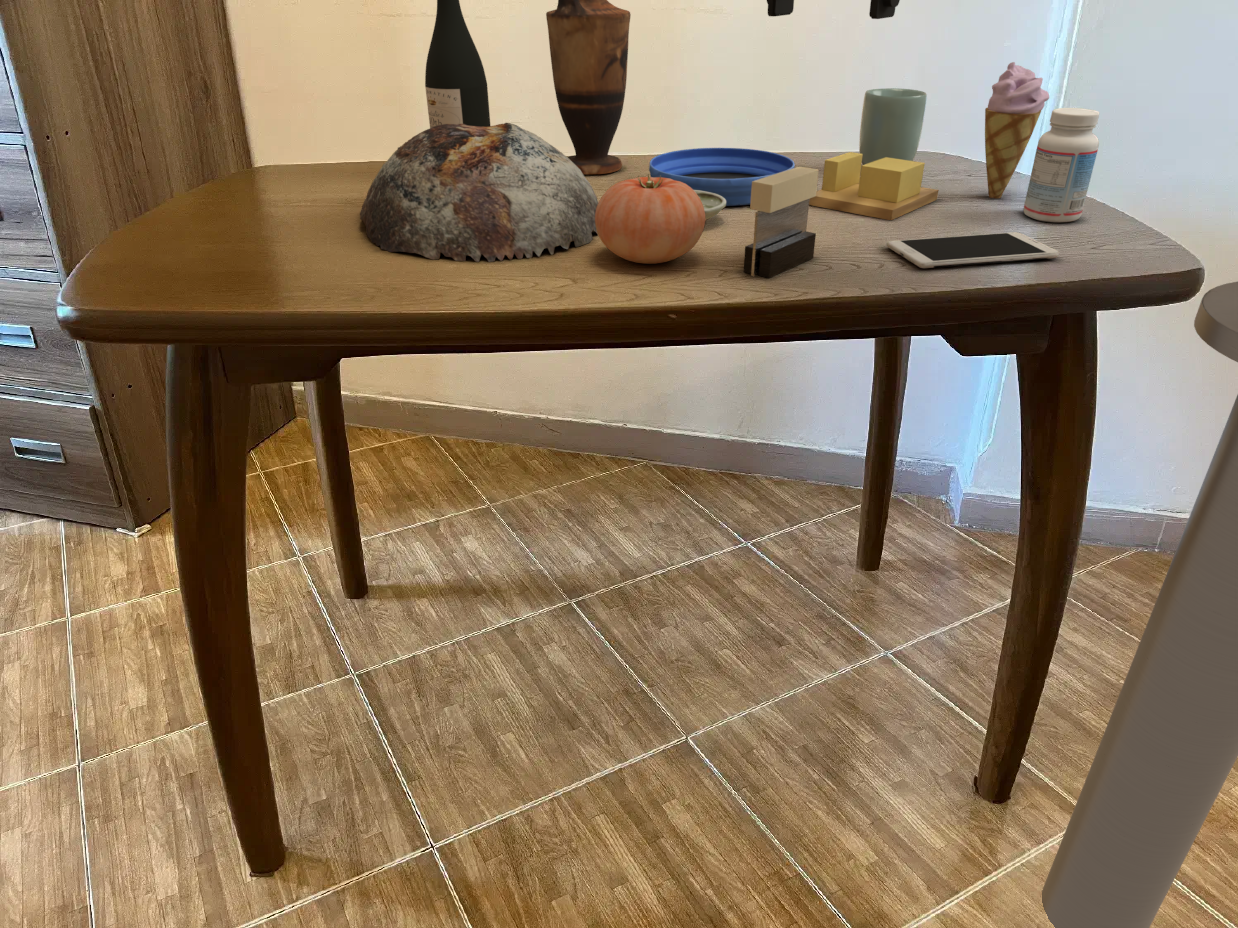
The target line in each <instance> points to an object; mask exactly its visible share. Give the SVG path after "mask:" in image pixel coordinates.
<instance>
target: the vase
mask: <svg viewBox="0 0 1238 928" xmlns="http://www.w3.org/2000/svg"><path fill="white" fill-rule="evenodd" d="M545 19H546V24H547V34H548V43H549V53H550V55H549V56H550V62H551V63H550V64H551V72H552V80H553V87H554V91H555V97H556V98H555V99H556V102H557V106H558V110H559V114H560V116H561V120H562V121H563V124H564V127H565V129H566V131H567V133H568V137H569V139H570V140H571V143H572V145H573V149H574V152H575V155H570V156H567V157H568V158H569V159H570V160H571V161H572V162H573V163H574V164H575V165H576V166H577V167H578V168H579V169H580V170H581V172H582V173H583V175H584V176H585V175H586V176H587V175H604V174H605V175H606V174H611V173H615V172H618V171H619V170H622V167H623V164H622V160H621V158H620V157H617V156H615V155H611V154H609V151H610V149H611V146H612V143H613V139H614V137H615V135H616V132H617V130H618V127H619V123H620V121H621V118H622V114H623V111H624V102H625V96H626V89H627V79H628V78H627V76H628V56H629V34H630V23H631V11H629V10H627V9H624V8H620V7H617V6H616V5H614V4H613V3H611V2H610V1H609V0H557V6H556V9H553V10H549V11H546V12H545Z"/></svg>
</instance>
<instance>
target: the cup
mask: <svg viewBox="0 0 1238 928" xmlns="http://www.w3.org/2000/svg"><path fill="white" fill-rule="evenodd" d="M927 99H928V94H927V93H926V92H925V91H922V90H917V89H912V88H911V89H910V88H873V89H868V90H866V91H865V92H864V95H863V102H862V108H861V118H860V126H859V140H858V150H859V152H858V153H860V154H863V155H862V163H861V165H865V164H868V163H871V162H874V161H876V160H879V159H882V158H885V157H888V158H895V159H902V160H909V161H914V160H915V157H916V155H917V153H918V148H919V145H920V141H921V138H922V137H921V136H922V132H923V126H924V120H925V114H926V108H927Z"/></svg>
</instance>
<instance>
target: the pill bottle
mask: <svg viewBox="0 0 1238 928" xmlns="http://www.w3.org/2000/svg"><path fill="white" fill-rule="evenodd" d="M1099 118H1100V111H1098V110H1094V109H1089V108H1082V107H1059V108H1054V109H1053V110H1051V115H1050V119H1049V122H1050V123H1049V126H1050V130H1048V131H1046V132H1044V133H1043V134H1042V135H1041V136H1040V137H1039V139H1038V142H1037V146H1036V150H1035V155H1034V160H1033V164H1032V168H1031V173H1030V178H1029V183H1028V187H1027V191H1026V197H1025V201H1024V204H1023V213H1024V215H1026V216H1027V217H1029V218H1031V219H1034V220H1036V221H1041V222H1047V223H1071V222H1074V221H1077V220H1079V219H1080V218H1081V217H1082V213H1083V211H1084V206H1085V204H1086V203H1085V202H1086V198H1087V194H1088V190H1089V186H1090V182H1091V178H1092V174H1093V171H1094V166H1095V162H1096V159H1097V155H1098V151H1099V146H1100V140H1099V138H1098V137H1097V135H1096V134H1095V133H1093V129H1095V128H1096V127H1097V125H1098V122H1099Z"/></svg>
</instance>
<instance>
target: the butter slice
mask: <svg viewBox="0 0 1238 928" xmlns="http://www.w3.org/2000/svg"><path fill="white" fill-rule="evenodd" d="M862 155H863V154H860V152H853V151H848V152H846V153H843V154H840V155H836V156H834V157H833V156H832V157H830V158H827V159H825V160H824V164H823V174H822V183H821V189H822V190H826V191H832V192H836V191H838V190H841V189H844V188H847V187H849V186H852V185H855V184H857V183H859V178H860V174H861V166H862Z"/></svg>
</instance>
